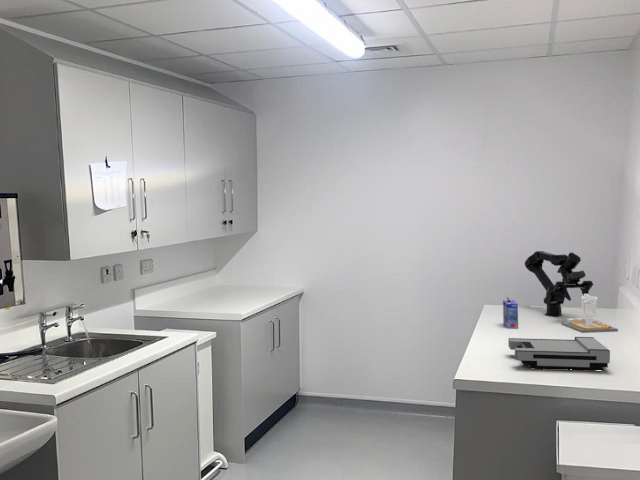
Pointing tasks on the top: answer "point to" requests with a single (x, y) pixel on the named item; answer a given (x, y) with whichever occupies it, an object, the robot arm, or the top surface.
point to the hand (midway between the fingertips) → (579, 300)
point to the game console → (561, 353)
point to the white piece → (589, 308)
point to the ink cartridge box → (510, 313)
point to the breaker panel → (580, 326)
